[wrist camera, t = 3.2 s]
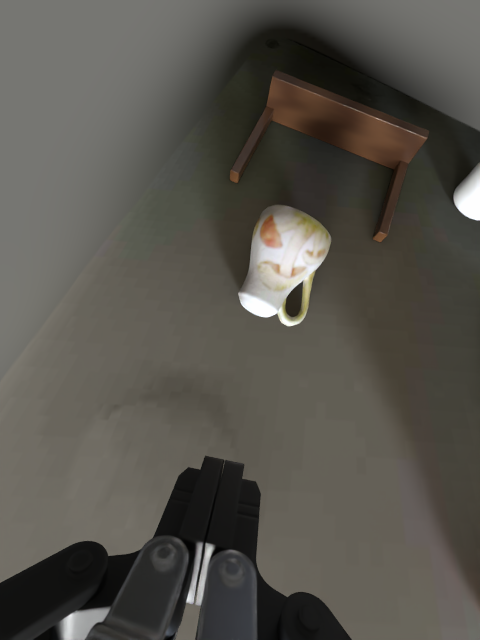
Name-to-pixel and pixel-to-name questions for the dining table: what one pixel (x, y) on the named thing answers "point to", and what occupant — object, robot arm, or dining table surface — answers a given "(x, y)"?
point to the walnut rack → (339, 132)
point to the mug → (283, 261)
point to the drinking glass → (469, 194)
